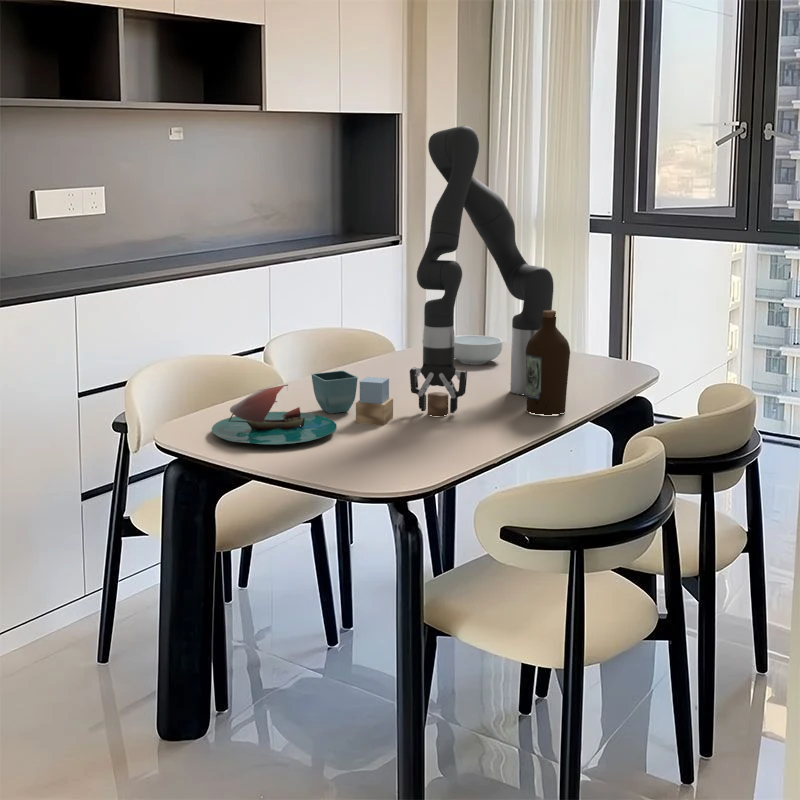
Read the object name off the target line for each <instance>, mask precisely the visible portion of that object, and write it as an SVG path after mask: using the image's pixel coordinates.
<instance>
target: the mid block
mask: <svg viewBox="0 0 800 800" xmlns="http://www.w3.org/2000/svg"><path fill="white" fill-rule="evenodd" d="M389 398H390V378H387V377H375V376H366V377H364V378H363V379H361V380H360V381H359V400H360V402H361V403H374V404H383V403H384V402H386V401H387V400H388V399H389Z"/></svg>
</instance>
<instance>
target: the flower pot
mask: <svg viewBox="0 0 800 800" xmlns="http://www.w3.org/2000/svg"><path fill="white" fill-rule="evenodd" d="M358 378H359V377H357V376H356V375H353V374H351V373H349V372H348V371H345V370H334V371H327V372H319V373H311V382H312V387H313V392H314V393H313V394H314V397H315V400H316V402H317V403H318V405H319V407H320V409H321V410H322V411H323V412H325V413H328V414H331V415H332V413H333V414H338V413H347V412H349V410H350V409H351V407H352V406H353V404H354V402H355V399H356V396H357V388H358V387H357V386H358V380H359V379H358Z"/></svg>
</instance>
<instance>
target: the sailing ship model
mask: <svg viewBox="0 0 800 800" xmlns="http://www.w3.org/2000/svg"><path fill="white" fill-rule="evenodd" d="M288 386H289V384H283V385H277V386H273V387H268V388H263V389H258V390H257V391H255V392H253V393H251V394H250V395H248V396H247V397H245V398H243V399H241V401H238V402H237V403H235V404H233V405H232V406H231V407H230V408H229V411H230V413H231V416H230V417H227V418H224V419H221V420H219V421H217V422H215V424H213V425H212V427H211V432H212V433H213V434H214V435H215V436H217V437H219V438H220V439H223V440H225V441H229V442H235V443H246V444H255V445H256V444H258V445H285V444H286V445H287V444H288V445H289V444H290V445H291V444H296V443H305V442H310V441H313V440H318V439H321V438H324V437H326V436H328V435H330V434H332V433H334V432H335V431H336V430H337V428H338V427H337V425H338V424H337V423H336V421H334V420H332V419H330V418H328V417H326V416H323V415H318V414H314V413H307V412H301V407H300V406H298V407H296V408H293V409H292V410H289V411H271V409H272V408H273V406H274V404H275V403H278V400H277V395H278V394H279V393H280V392H281V391H282V389H284V387H287V388H286V389H287V390H288ZM275 405H276V404H275Z"/></svg>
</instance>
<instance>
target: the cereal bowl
mask: <svg viewBox="0 0 800 800" xmlns="http://www.w3.org/2000/svg"><path fill="white" fill-rule="evenodd" d="M502 350H503V339H501V338H500V337H496V336H492V335H479V334H478V335H475V334H463V335H462V334H461V335H455V341H454V359H455V360H458V361H459V362H460V363H462V364H464V365H469V364H470V365H471V366H479V365H478V364H480V365H485V364H488V362H489V361H490V362H491V361H492V360H495V359H497V358H498V357H499V356H500V354H501V352H502ZM470 365H469V366H470Z"/></svg>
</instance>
